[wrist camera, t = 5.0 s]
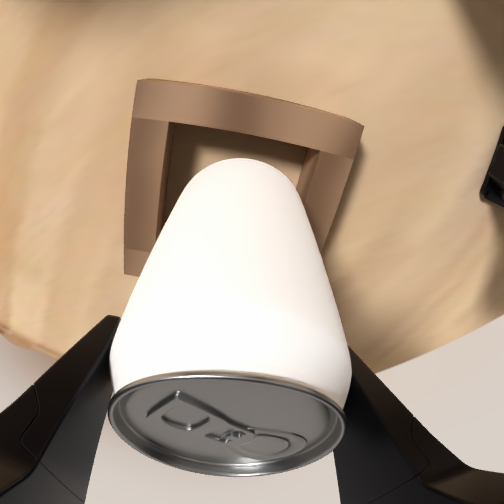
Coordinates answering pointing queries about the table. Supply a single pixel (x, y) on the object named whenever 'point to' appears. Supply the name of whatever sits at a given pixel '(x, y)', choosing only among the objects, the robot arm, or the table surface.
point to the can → (232, 334)
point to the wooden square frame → (238, 120)
